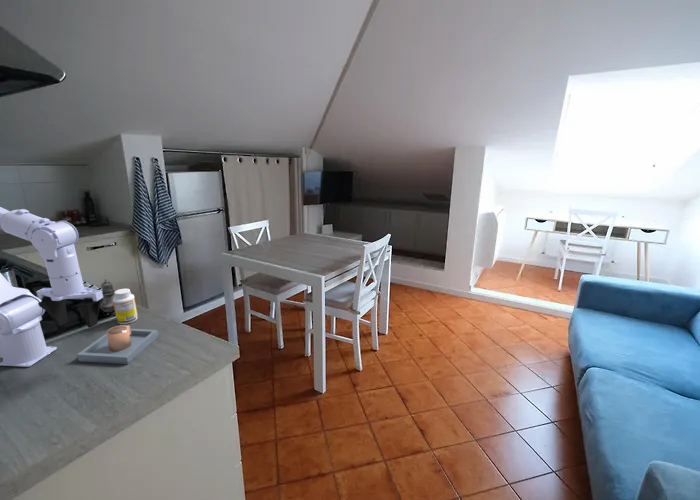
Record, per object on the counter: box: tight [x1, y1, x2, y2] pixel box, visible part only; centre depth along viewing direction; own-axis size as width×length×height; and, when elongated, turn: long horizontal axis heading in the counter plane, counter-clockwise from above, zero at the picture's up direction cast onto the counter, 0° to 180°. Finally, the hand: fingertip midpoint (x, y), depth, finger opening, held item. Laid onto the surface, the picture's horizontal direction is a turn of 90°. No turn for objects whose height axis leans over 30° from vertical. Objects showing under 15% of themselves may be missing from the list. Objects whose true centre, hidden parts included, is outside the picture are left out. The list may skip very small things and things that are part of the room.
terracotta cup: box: [105, 324, 132, 352], centre depth 89 cm, size 5×6×5 cm
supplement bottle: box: [113, 288, 139, 325], centre depth 102 cm, size 6×6×10 cm
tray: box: [76, 328, 159, 365], centre depth 89 cm, size 13×13×2 cm
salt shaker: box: [100, 279, 116, 313], centre depth 105 cm, size 6×6×12 cm
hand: (77, 324), depth 81 cm, fingers open, 7 cm apart
